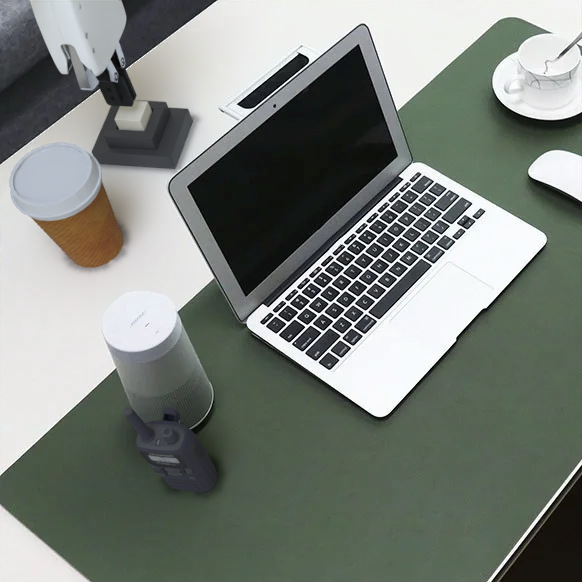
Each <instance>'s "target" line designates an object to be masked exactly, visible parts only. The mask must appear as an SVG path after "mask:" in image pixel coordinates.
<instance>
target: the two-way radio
mask: <svg viewBox="0 0 582 582" xmlns="http://www.w3.org/2000/svg"><path fill="white" fill-rule="evenodd" d="M122 413H123V415H124V416H125V417H126V419H127V420H128V421H129V423H130V425H131V426H132V427H133V429H134V430H135V431H136V433H137V434H136V437H135V447H136V450H137V451H138V453H139V454H140V456H141V457H142V458H143V459H144V460H145V461H146V463H148V465H149V466H150V467H151V469H153V471H154V472H155V473H156V474H157V476H158V477H161V478H162V479H163V481H164V482H165V483H166V484H167V485H168V486H169V487H170V488H171V489H174V490H177V491H184V492H194V493H208V492H209V491H211V490H212V489H213V488H214V487H215V486H216V483H217V482H218V476H219V475H218V472H217V470H216V466H215V464H214V462H213V461H212V459H211V456H210V455H209V454H208V452H207V450H206V448H205V446H204V445H203V443H202V442H201V440H200V439H199V438H198V436H197V435H196V434H195V433H194V431H193V430H192V429H190V428H189V427H188V426H185V425H184V424H183V423H182V420H181V419H182V418H181V415H180V412H179V411H178V410H177V408H174V407H164V408H163V410H162V414H161V415H162V419H158V420H151V421H148V422H145V421H144V420H143V419H142V418H141V417H140V415H139V414H138V413H137V412H136V411H135V410H134V409H133V407H131V406H126V407H124V408H123V411H122Z"/></svg>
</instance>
